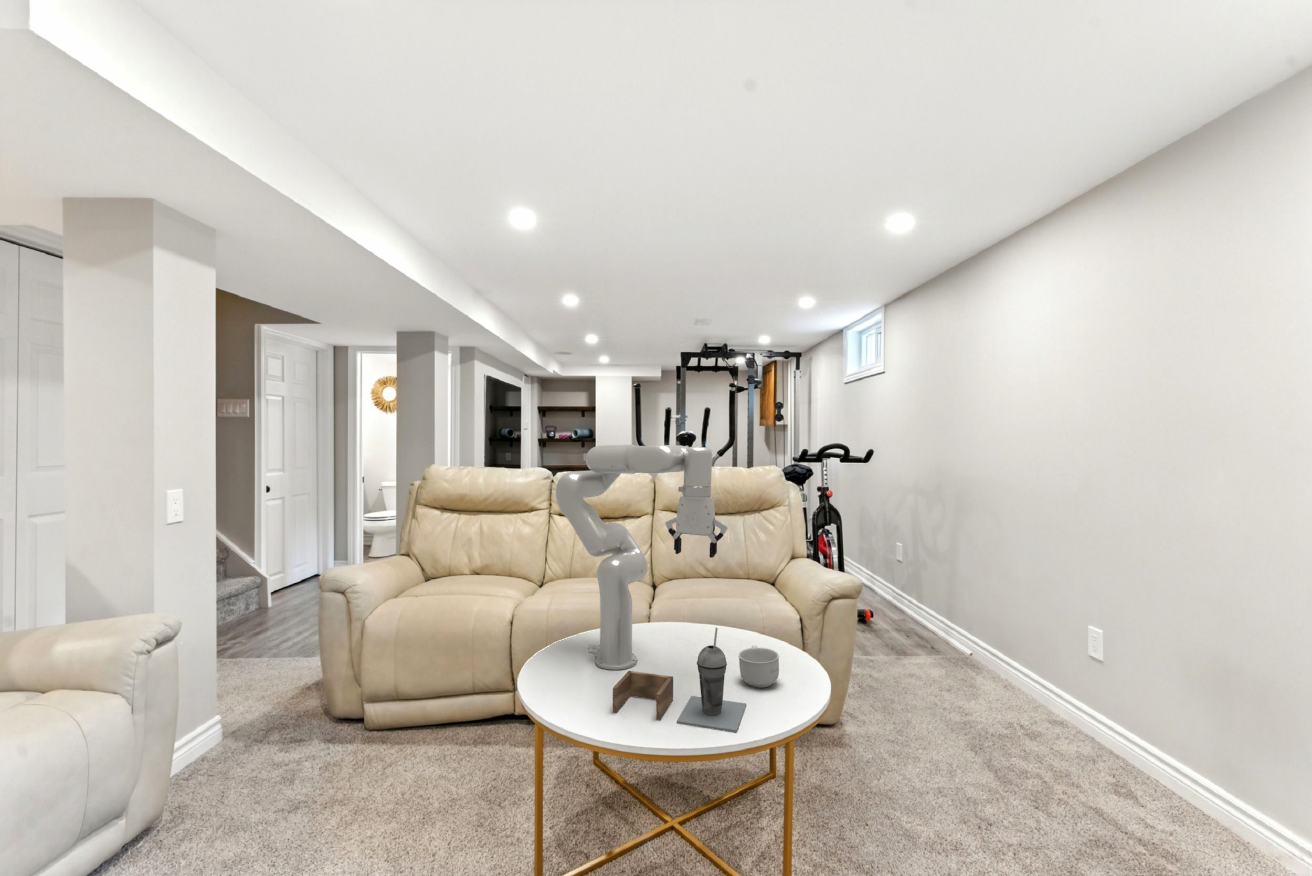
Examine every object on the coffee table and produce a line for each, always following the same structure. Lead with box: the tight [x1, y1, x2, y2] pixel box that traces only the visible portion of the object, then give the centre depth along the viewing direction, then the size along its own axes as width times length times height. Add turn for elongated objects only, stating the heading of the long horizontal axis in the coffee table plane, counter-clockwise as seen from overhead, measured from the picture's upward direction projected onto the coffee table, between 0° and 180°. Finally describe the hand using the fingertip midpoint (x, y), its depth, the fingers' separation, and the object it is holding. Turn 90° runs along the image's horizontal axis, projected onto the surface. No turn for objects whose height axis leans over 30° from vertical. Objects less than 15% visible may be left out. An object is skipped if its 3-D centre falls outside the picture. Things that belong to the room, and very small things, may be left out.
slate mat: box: [676, 695, 747, 733], centre depth 136 cm, size 14×14×1 cm
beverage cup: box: [696, 627, 728, 716], centre depth 137 cm, size 7×7×20 cm
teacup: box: [738, 645, 780, 689], centre depth 156 cm, size 14×11×8 cm
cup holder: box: [612, 670, 674, 721], centre depth 140 cm, size 12×11×6 cm
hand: (695, 554), depth 155 cm, fingers open, 9 cm apart
